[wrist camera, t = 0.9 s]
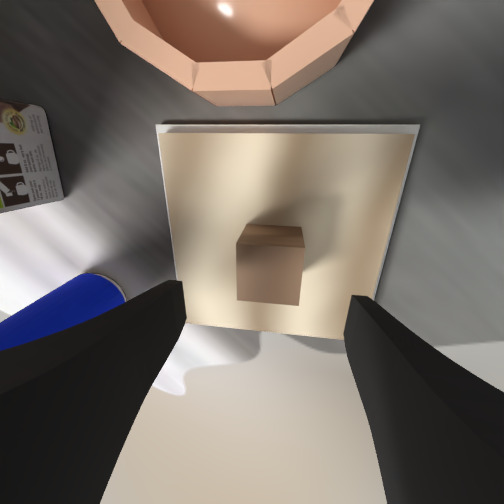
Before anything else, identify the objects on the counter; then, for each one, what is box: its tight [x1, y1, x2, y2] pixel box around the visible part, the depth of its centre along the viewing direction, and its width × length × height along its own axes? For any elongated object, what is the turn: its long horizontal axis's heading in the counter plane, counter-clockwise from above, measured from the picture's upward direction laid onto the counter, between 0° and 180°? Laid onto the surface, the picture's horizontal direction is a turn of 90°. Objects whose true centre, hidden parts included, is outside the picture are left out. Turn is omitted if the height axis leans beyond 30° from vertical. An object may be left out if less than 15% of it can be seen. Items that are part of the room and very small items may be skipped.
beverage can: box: [0, 273, 126, 351], centre depth 14 cm, size 5×5×15 cm
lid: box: [158, 133, 415, 340], centre depth 14 cm, size 14×14×4 cm
